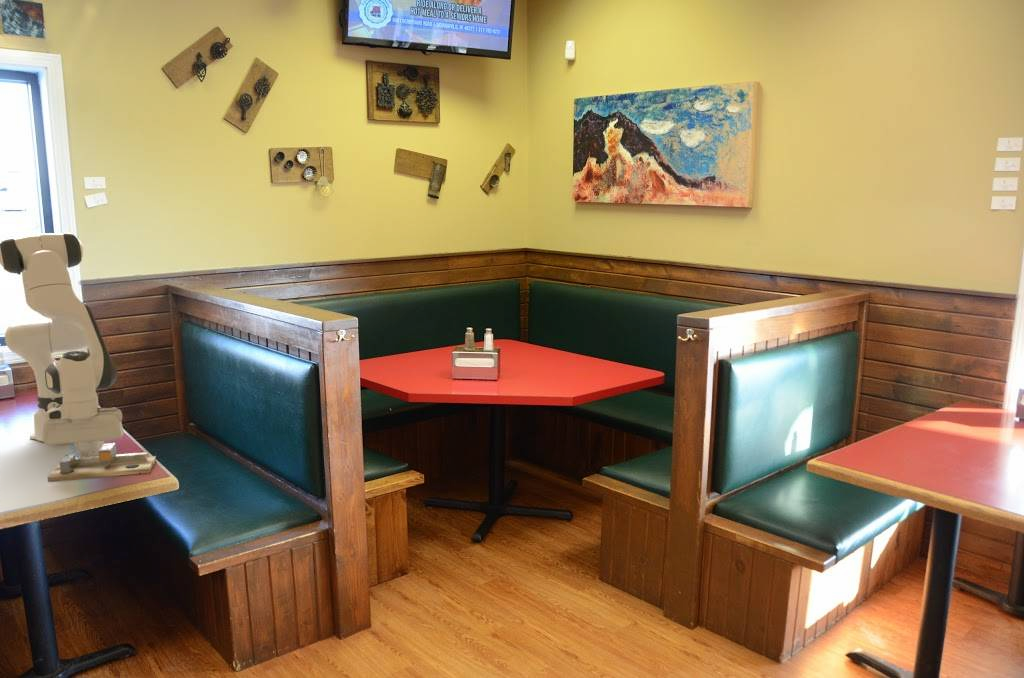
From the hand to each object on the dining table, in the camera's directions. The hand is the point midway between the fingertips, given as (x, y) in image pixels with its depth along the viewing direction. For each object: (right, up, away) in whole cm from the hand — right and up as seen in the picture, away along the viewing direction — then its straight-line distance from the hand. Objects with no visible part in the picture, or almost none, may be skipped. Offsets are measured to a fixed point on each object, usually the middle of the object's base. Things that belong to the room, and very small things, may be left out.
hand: (86, 456), depth 233 cm
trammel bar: (+4, -3, +2) cm, 5 cm away
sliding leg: (+6, -3, +2) cm, 7 cm away
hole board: (+4, -4, +2) cm, 6 cm away
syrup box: (-7, -2, +18) cm, 19 cm away
